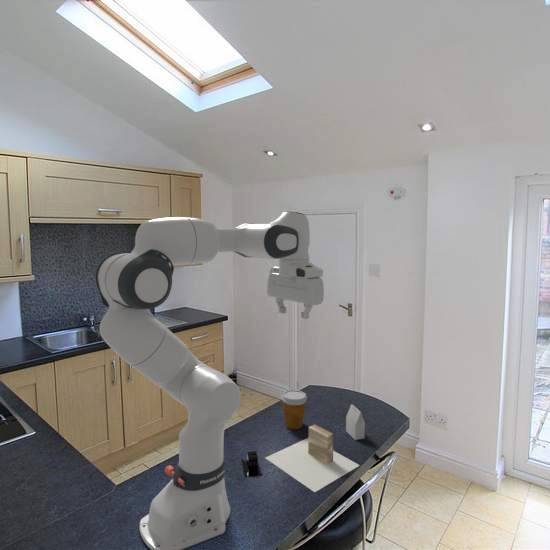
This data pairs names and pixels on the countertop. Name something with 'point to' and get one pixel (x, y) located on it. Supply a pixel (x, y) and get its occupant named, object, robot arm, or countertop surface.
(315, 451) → the letter block
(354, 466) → the felt mat
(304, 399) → the disposable coffee cup
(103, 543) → the countertop surface
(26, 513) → the countertop surface
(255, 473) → the black mounting plate
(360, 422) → the grey angular block
